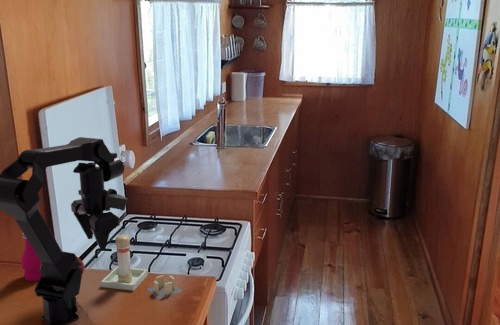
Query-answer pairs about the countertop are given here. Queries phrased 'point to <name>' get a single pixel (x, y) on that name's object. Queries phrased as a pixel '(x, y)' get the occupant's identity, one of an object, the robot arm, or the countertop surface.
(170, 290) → the grey stand with brackets
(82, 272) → the onion
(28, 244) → the pepper mill
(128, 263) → the white and tan post
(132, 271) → the tray
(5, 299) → the countertop surface
